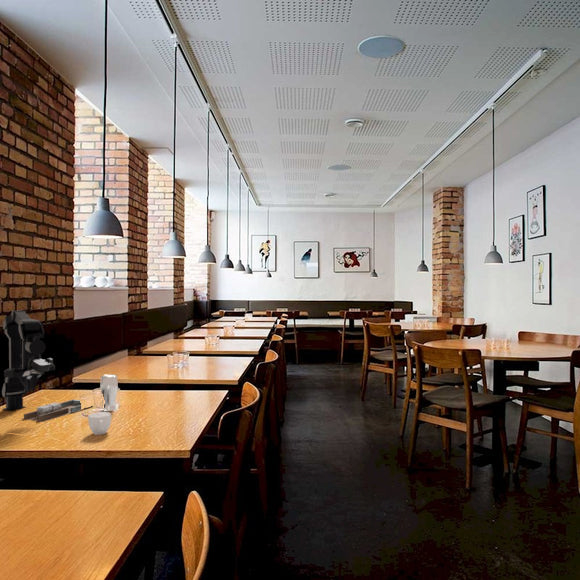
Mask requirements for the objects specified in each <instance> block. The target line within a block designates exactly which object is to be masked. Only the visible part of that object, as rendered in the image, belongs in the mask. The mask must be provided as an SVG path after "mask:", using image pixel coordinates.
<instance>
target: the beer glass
mask: <svg viewBox="0 0 580 580" xmlns="http://www.w3.org/2000/svg"><path fill="white" fill-rule="evenodd" d="M118 383H119V382H118V375H117V374H113V373H112V374H104V375H101V376H100V386H99V387H100V394H101V393H102V394H103V397H104V400H105V404H104V408H105V409H106V410H107V411H106V412H111V411H113V412H114V411H115V410H117V403H116V400H117V395H118V394H117V393H118V388H119V386H118Z"/></svg>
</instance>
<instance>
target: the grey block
mask: <svg viewBox="0 0 580 580" xmlns="http://www.w3.org/2000/svg"><path fill="white" fill-rule="evenodd" d="M61 403H62V402H52V403H47V405H48V406H52V412H53V411H57V410H60V409H61Z"/></svg>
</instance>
